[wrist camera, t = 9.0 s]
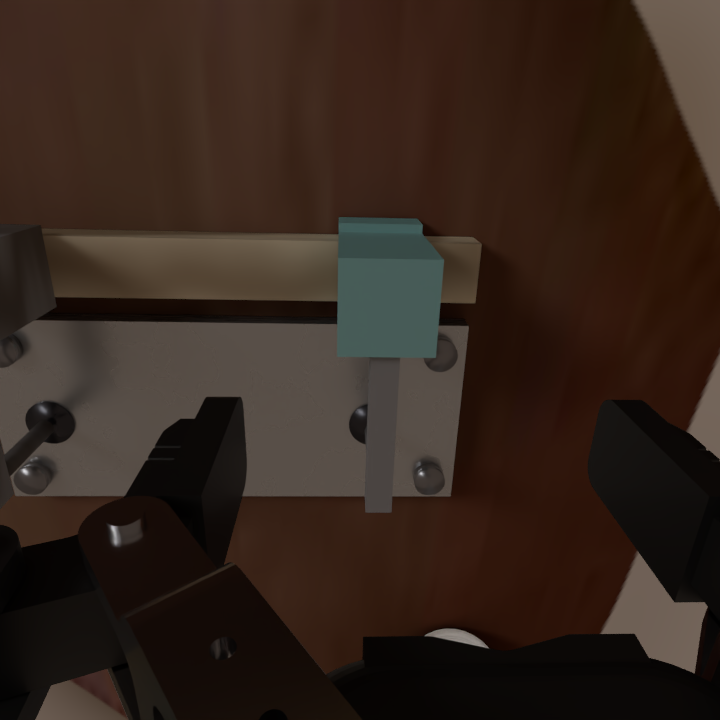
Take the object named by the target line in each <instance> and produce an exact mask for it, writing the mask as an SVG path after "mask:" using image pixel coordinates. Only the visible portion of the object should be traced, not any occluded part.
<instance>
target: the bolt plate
mask: <svg viewBox="0 0 720 720" xmlns="http://www.w3.org/2000/svg"><path fill="white" fill-rule="evenodd" d="M468 330H469V325H468V324H467V322H466V321H465V319H439V326H438V338H437V350H436V358H400V370H399V387H398V404H397V422H396V439H395V457H394V474H393V491H392V496H451V488H452V479H453V470H454V460H455V451H456V442H457V432H458V423H459V414H460V404H461V395H462V386H463V377H464V367H465V358H466V349H467V339H468ZM368 383H369V357H337V317H280V316H207V315H134V314H61V313H46V314H44V315H42V316H41V317H39V318H37V319H36V320H34V321H32V322H31V323H29V324H27V325H26V326H24V327H22V328H21V329H19V330H17V331H16V332H14V333H12V334H11V335H9V336H7V337H6V338H4V339H2V340H1V341H0V439H1V443H2V446H3V450H4V454H6V453H7V452H8V451H9V450H10V449H11V448H12V447H13V446H14V445H15V444H16V443H17V442H18V441H19V440H20V439H21V438H23V437H24V436H25V435H26V434H27V433H28V432H29V431H30V430H31V429H32V428H33V427H34V426H35V425H36V424H37V423H38V422H40V421H42V420H46V421H49V422H50V423H52V425H53V426H54V431H53V433H52V434H51V435H50V436H49V437H48V438H47V439H46V440H45V441H44V442H43V443H42V444H41V445H40V446H39V447H38V448H37V449H36V450H35V451H34V452H33V453H32V454H31V455H30V456H29V457H28V458H27V459H26V460H25V462H24V463H23V464H22V465H21V466H20V467H19V468H18V469H17V470H16V471H15V472H14V473H13V474H12V475H11V476H10V477H11V480H12V484H13V488H14V492H15V496H125V495H126V493H127V491H128V490H129V488H130V486H131V485H132V483H133V481H134V480H135V478H136V476H137V475H138V473H139V471H140V469H141V468H142V466H143V464H144V463H145V461H146V460H148V456H149V454H150V453H151V451H152V449H153V448H155V444H156V443H157V441H158V439H159V437H160V436H161V434H162V432H163V431H164V430H165V429H167V428H168V427H170V426H171V425H172V424H174V423H175V422H177V421H178V420H179V419H195V417H196V415H197V413H198V411H199V409H200V407H201V405H202V403H203V401H204V399H205V398H206V397H241V398H242V401H243V408H244V423H245V438H246V453H247V474H246V483H245V488H244V492H243V495H242V496H365V472H366V443H365V428H366V427H367V413H368Z"/></svg>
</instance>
